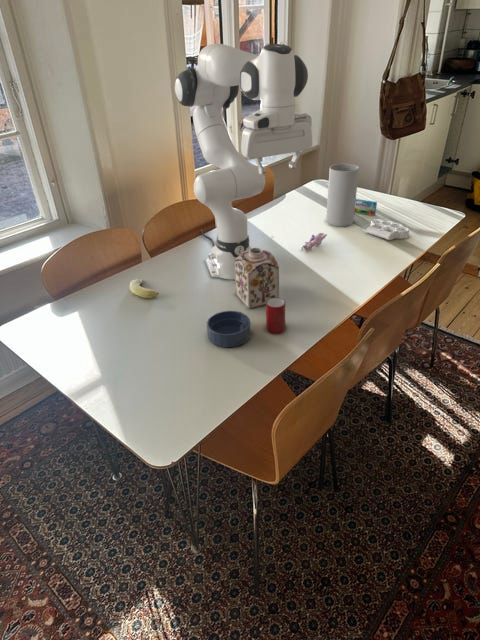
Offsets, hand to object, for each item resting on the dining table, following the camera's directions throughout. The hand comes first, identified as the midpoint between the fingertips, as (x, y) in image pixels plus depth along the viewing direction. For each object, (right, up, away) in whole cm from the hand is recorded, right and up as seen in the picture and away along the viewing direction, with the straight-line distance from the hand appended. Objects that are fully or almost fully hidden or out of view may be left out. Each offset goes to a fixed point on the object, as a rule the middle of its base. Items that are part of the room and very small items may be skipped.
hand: (277, 170), depth 127 cm
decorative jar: (-4, -34, +32) cm, 47 cm away
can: (+1, -44, +16) cm, 47 cm away
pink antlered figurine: (+21, -10, +66) cm, 70 cm away
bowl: (-14, -46, +14) cm, 50 cm away
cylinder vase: (+36, +4, +87) cm, 94 cm away
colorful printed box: (+49, +10, +95) cm, 107 cm away
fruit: (-45, -31, +39) cm, 67 cm away
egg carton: (+54, -4, +74) cm, 91 cm away
